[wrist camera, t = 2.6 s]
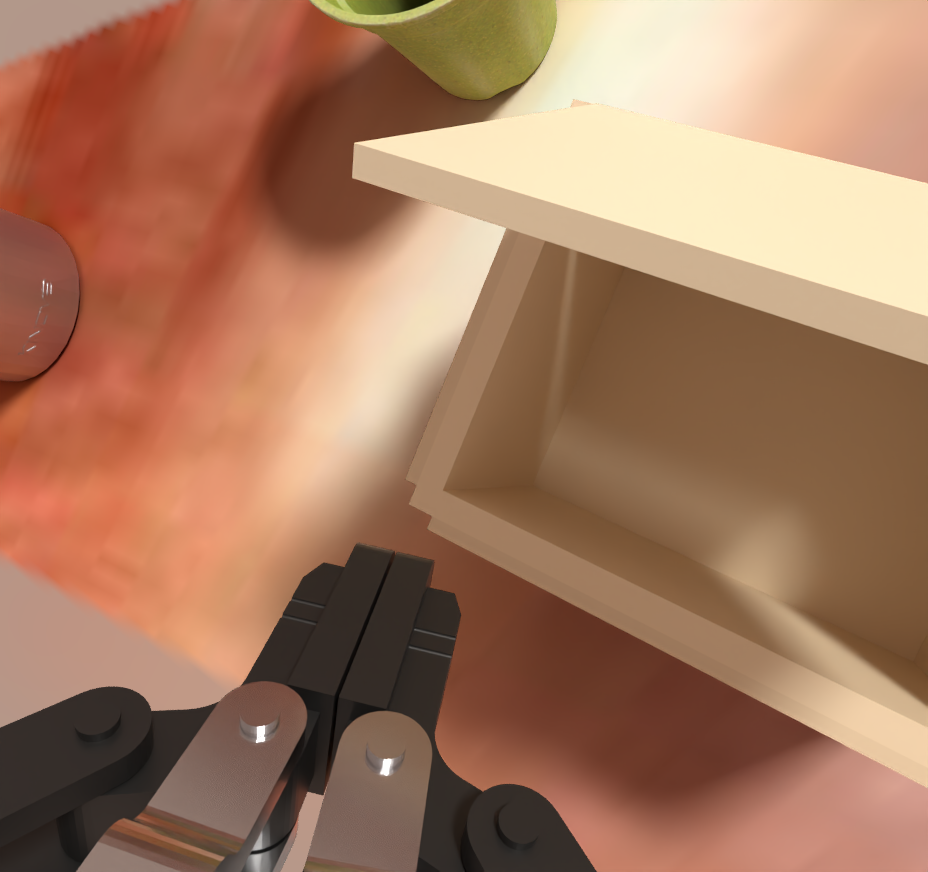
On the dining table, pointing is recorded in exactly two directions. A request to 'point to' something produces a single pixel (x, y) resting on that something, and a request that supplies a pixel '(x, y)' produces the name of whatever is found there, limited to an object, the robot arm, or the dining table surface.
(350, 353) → the dining table surface
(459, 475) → the carton
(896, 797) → the dining table surface
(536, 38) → the plant pot
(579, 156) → the back flap
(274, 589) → the dining table surface
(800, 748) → the dining table surface
